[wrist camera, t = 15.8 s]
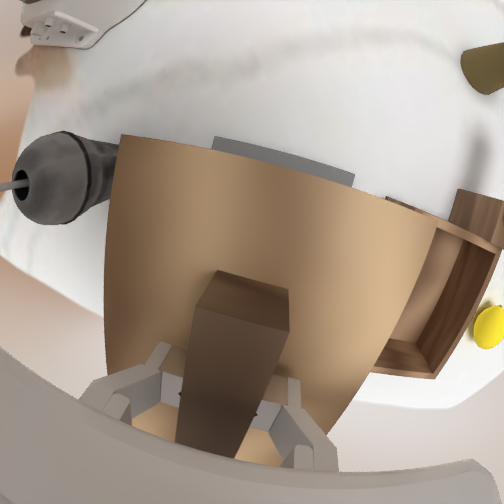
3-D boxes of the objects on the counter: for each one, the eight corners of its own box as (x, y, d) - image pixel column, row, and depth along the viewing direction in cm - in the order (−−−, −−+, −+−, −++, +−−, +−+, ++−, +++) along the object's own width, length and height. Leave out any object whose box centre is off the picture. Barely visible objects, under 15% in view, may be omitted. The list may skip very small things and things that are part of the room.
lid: (126, 396, 16) (95, 448, 11) (147, 138, 11) (73, 129, 6) (297, 443, 16) (297, 504, 11) (414, 211, 11) (482, 241, 6)
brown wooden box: (335, 329, 31) (347, 376, 23) (396, 159, 25) (435, 161, 17) (415, 345, 31) (438, 386, 23) (477, 199, 24) (521, 213, 17)
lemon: (484, 333, 30) (498, 356, 25) (460, 335, 31) (474, 361, 26) (502, 294, 27) (521, 316, 22) (479, 294, 27) (498, 319, 23)
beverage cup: (152, 206, 29) (2, 276, 10) (100, 195, 29) (-46, 246, 10) (163, 138, 27) (0, 129, 8) (107, 133, 27) (-47, 136, 8)
